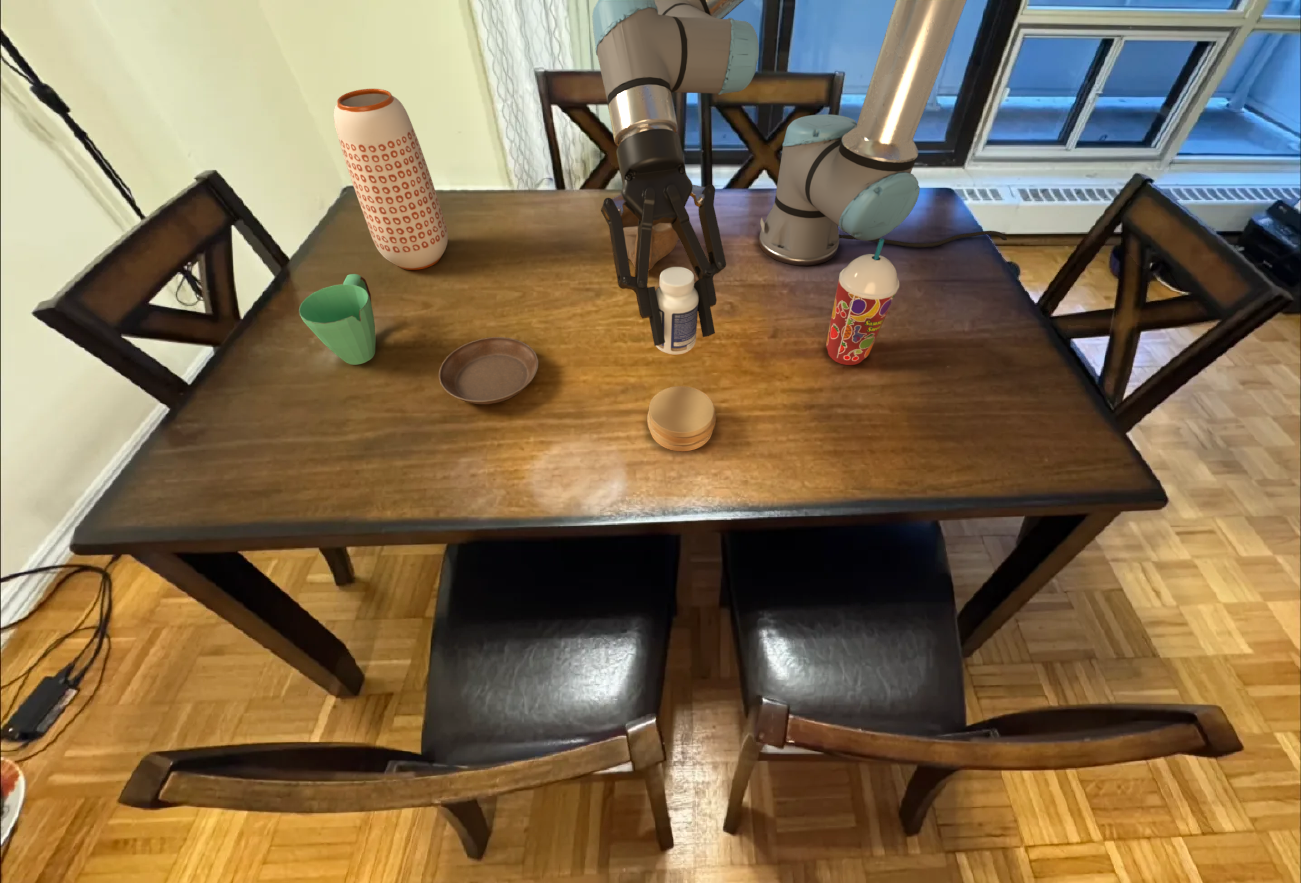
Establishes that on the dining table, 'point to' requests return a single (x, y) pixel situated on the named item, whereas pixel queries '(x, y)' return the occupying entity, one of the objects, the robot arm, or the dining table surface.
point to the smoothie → (861, 306)
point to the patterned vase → (391, 178)
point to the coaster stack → (681, 418)
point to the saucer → (488, 370)
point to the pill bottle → (677, 309)
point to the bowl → (660, 238)
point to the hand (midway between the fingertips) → (684, 339)
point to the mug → (343, 319)
